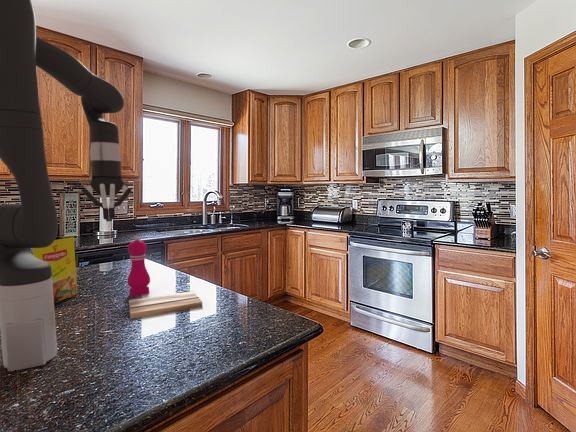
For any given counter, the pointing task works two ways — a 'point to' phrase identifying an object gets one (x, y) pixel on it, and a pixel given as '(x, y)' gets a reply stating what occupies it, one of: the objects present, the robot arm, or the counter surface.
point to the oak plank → (164, 307)
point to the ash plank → (161, 299)
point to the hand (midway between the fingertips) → (109, 221)
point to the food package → (60, 267)
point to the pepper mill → (138, 268)
